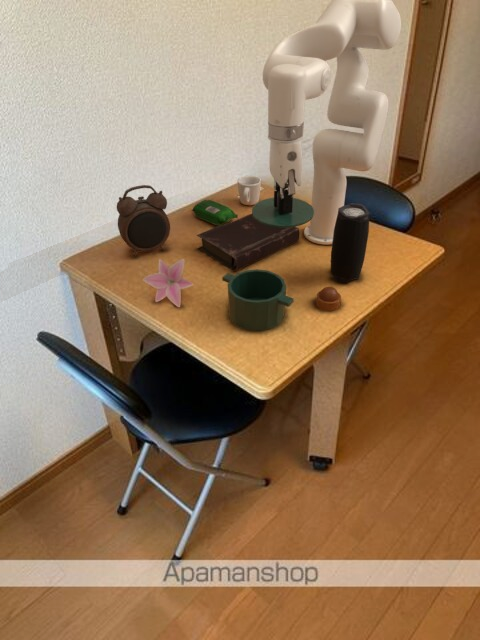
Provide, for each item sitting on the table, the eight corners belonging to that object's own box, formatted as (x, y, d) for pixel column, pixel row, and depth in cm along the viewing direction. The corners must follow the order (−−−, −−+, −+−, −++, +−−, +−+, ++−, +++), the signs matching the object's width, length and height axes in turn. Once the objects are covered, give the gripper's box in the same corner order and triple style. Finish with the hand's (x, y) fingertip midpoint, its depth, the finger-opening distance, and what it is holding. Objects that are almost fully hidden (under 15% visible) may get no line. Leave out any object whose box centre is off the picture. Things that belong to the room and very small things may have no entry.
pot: (241, 288, 131) (241, 260, 126) (304, 313, 122) (306, 284, 117) (209, 313, 123) (207, 285, 117) (273, 342, 114) (274, 313, 108)
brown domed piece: (331, 294, 128) (333, 279, 125) (344, 307, 124) (346, 291, 121) (311, 300, 126) (312, 284, 123) (323, 313, 122) (325, 297, 119)
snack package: (223, 232, 156) (223, 216, 152) (190, 216, 164) (189, 201, 161) (239, 224, 160) (239, 209, 156) (205, 209, 168) (205, 195, 165)
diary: (300, 243, 149) (301, 228, 146) (237, 273, 136) (236, 258, 133) (258, 222, 160) (258, 207, 157) (196, 248, 148) (195, 233, 144)
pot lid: (273, 196, 126) (274, 174, 122) (324, 211, 119) (326, 188, 115) (239, 219, 117) (239, 196, 113) (292, 236, 110) (294, 213, 106)
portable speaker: (324, 281, 133) (331, 214, 121) (334, 264, 140) (342, 199, 128) (356, 288, 130) (366, 220, 118) (365, 270, 137) (375, 204, 125)
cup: (257, 212, 166) (257, 189, 161) (234, 210, 167) (233, 187, 162) (262, 198, 174) (262, 176, 169) (240, 196, 176) (240, 175, 171)
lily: (142, 294, 131) (133, 277, 122) (172, 263, 134) (166, 245, 126) (175, 320, 128) (168, 306, 119) (205, 289, 131) (201, 272, 122)
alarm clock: (127, 262, 142) (115, 197, 130) (121, 250, 147) (109, 186, 135) (175, 251, 147) (168, 187, 134) (168, 240, 152) (160, 177, 139)
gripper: (315, 141, 100) (309, 223, 111) (290, 117, 112) (287, 193, 124) (280, 145, 98) (277, 228, 110) (258, 120, 111) (258, 197, 122)
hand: (282, 208), depth 117 cm, fingers closed on pot lid, 2 cm apart
